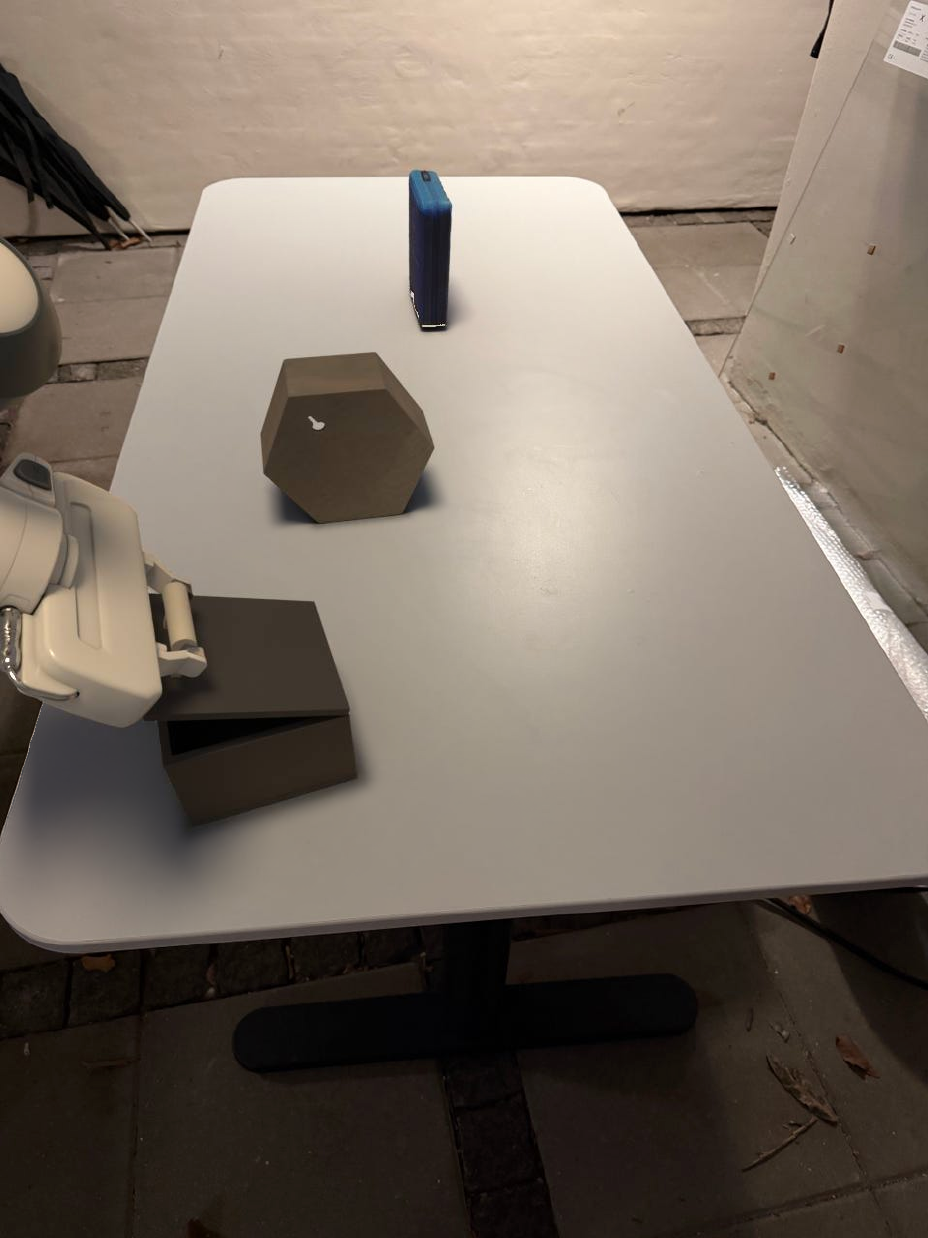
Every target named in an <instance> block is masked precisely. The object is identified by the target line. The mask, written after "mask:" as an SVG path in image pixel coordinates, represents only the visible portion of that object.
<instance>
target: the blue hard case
mask: <svg viewBox="0 0 928 1238" xmlns="http://www.w3.org/2000/svg"><path fill="white" fill-rule="evenodd" d="M452 213H453V204H452V201H451V200H450V198H449V197H448V195H447V192H446V191H445V189H444V186H443V184H442V181H441V180H440V177H439V176H438V173H437V172H436V171H433V170H425V169H424V170H420V169H413V170H411V171H410V172H409V175H408V283H409V285H408V287H410V288H409V291H410V290H411V291H412V292H413V293H414V305H415V309H416V311H417V312H418V315H419V320H418V317H417V314H416V311H415V309H414V308H413V310H414V312H415V315H416V317H417V322H418V323H419V322H420V323H419V325H420V324H421V325H440V324H441V325H442V324H446V325H445V326H436V327H422V328H423V329H434V328H445V327H446V326H447V322H448V321H447V320H448V308H449V307H448V306H449V292H450V291H449V290H450V287H449V285H450V268H451V267H450V266H451V243H452V241H451V240H452V224H453V223H452V222H453V220H452V219H453V217H452V216H453V215H452ZM414 305H413V306H414ZM421 325H420V326H421Z"/></svg>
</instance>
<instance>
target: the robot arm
mask: <svg viewBox="0 0 928 1238" xmlns="http://www.w3.org/2000/svg"><path fill="white" fill-rule="evenodd" d="M62 333H63V332H62V326H61V322H60V319H59V315H58V312H57V309H56V307H55V304H54V301H53V299H52V297H51V295H50V293H49V291H48V289H47V287H46V285H45V283H44V281H43V280H42V278H41V277H40V275H39V273H38V272H37V271H36V269H35V268H34V267H33V266H32V264H31V263H30V262H29V261H28V260H27V258H26V256H24V255H23V254H22V253H21V252H20V250H18V249H17V248H16V247H15V246H14V245H12V243H10V242H9V241H8V240H7V239H5V238H4V237H3V236H2V235H0V415H1V414H2V413H3V412H4V411H6V410H9V409H10V408H12V407H13V406H15V405H16V404H18V403H20V402H21V401H23V400H25V399H26V398H28V397H29V396H30V395H32V394H33V393H35V392H37V391H38V390H40V389H42V387H44V386H45V385H46V384H47V383H49V381H50V380H51V378H53V376H54V375H55V372H56V371H57V369H58V366H59V365H60V361H61V357H62V353H63V352H62V351H63V335H62ZM172 582H178V583H182V584H183V585H185V586H186V588H187V593H188V598H189V600H191V599H192V598H193V595H194V591H193V585H192V581H191V580H190V579H187V578H185V577H183V576H180V575H178V574H175V573H174V572H173V571H172V570H170V569H169V568H168V567H167V566H166V565H165V564H163V563H162V562H161V561H160V560H159V559H158V558H157V557H155V556H154V555H153V554H151V553H148V552H145V551H144V550H143V546H142V538H141V532H140V525H139V517H138V513H137V512H136V511H135V510H134V508H133V507H132V506H131V505H129V503H127V502H126V501H125V500H124V499H123V498H121V497H119V496H118V495H116V494H113V493H112V492H110V491H108V490H105V489H103V488H102V487H99V486H97V485H95V484H93V483H91V482H89V481H87V480H85V479H82V478H80V477H77V476H75V475H72V474H69V473H67V472H62V471H54V472H53V469H52V466H51V464H50V463H49V462H48V461H46V460H45V459H43V458H42V457H39V456H37V455H35V454H32V453H30V452H25V451H24V452H20V453H19V454H18V455H17V456H16V457H15V458H14V460H13V461H12V462H11V463H10V465H9V466H8V467H7V469H6V470H5V471H4V472H3V474H2V475H1V477H0V671H1V672H3V673H6V675H7V677H8V679H9V681H11V683H12V684H14V685H15V686H16V689H17V691H18V692H20V694H21V693H22V694H23V695H26V696H28V697H32V698H35V699H37V700H39V701H40V702H42V703H44V704H46V705H49V706H51V707H53V708H56V709H59V710H62V711H64V712H66V713H70V714H73V715H75V716H79V717H82V718H83V719H84V718H85V719H87V720H90V721H93V722H96V723H99V724H100V723H101V724H102V725H103V724H105V725H108V726H111V727H114V728H115V727H116V728H127V727H129V726H131V725H133V724H136V723H138V722H139V721H140V720H141V719H143V716H144V715H145V714H146V713H147V712H148V711H149V710H150V709H151V708H152V706H153V705H154V704H155V703H156V702H157V701H158V699H159V698H160V697H161V695H162V683H161V677H163V676H167V675H171V674H174V673H178V674H181V675H185V676H188V677H197V676H199V675H200V674H201V673H202V672H203V670H204V669H205V668H206V667H207V661H206V656H205V651H204V649H203V648H202V647H196V646H193V645H190V644H187V643H185V644H184V645H183V646H182V648H181V649H180V650H179V651H172V652H167V646H166V645H163V644H160V643H157V642H155V635H154V628H153V621H152V614H151V607H150V600H149V593H148V590H149V589H152V590H154V592H156V593H157V594H161V595H162V589H163V588H164V586H165V585H167V584H169V583H172ZM148 587H149V588H148ZM162 600H163V596H162Z"/></svg>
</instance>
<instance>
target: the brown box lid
mask: <svg viewBox="0 0 928 1238" xmlns="http://www.w3.org/2000/svg"><path fill="white" fill-rule="evenodd" d="M162 596H163V600H162ZM149 600H150V607H151V614H152V621H153V628H154V635H155V642H157V643H160V644H163V645H166V646H167V652H172V651H179V650H180V649H181V648H182V646H183V645H184V644H185V643H187V644H190V645H193V646H196V647H202V648H203V649H204V651H205V656H206V661H207V667H206V668H205V669H204V670H203V672H202V673H201V674H200V675H199V676H197V677H188V676H185V675H181V674H178V673H174V674H171V675H167V676H163V677H161V683H162V695H161V697H160V698H159V699H158V701H157V702H156V703H155V704H154V705H153V706H152V708H151V709H150V710H149V711H148V712H147V713H146V714H145V715H144V716H143V717H142V722H157V721H179V720H210V719H241V718H272V717H303V716H334V715H348V713H349V712H350V711H351V708H350V704H349V701H348V698H347V695H346V693H345V689H344V686H343V683H342V680H341V677H340V674H339V671H338V667H337V665H336V662H335V659H334V656H333V653H332V649H331V647H330V644H329V641H328V638H327V636H326V632H325V629H324V627H323V623H322V620H321V617H320V614H319V611H318V608H317V605H316V602H315V601H314V600H296V599H295V600H294V599H273V598H254V597H237V596H236V597H235V596H234V597H232V596H212V595H194V594H193V598H192V599H191V600H189V598H188V593H187V588H186V586H185V585H183V584H182V583H178V582H172V583H169V584H167V585H165V586H164V588H163V589H162V595H161V594H159V593H155V592H153V593H152V592H151V593H149ZM349 714H350V713H349Z"/></svg>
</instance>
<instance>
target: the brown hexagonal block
mask: <svg viewBox="0 0 928 1238" xmlns="http://www.w3.org/2000/svg"><path fill="white" fill-rule="evenodd" d="M269 401H270V402H269V405H268V408H267V411H266V413H265V418H264V421H263V424H262V427H261V430H260V434H259V435H260V448H261V462H262V474H263V475H264V476H265V477H267V478H268V480H270V482H272V483H273V484H274V485H275V486H277V488H279V490H281V491H282V492H283V493H284V494H285V495H286V496H288V497H289V498H290V499H291V500H292V501H293V502H294V503H295V504H297V505H298V506H299V507H300V508H301V509H302V510H303V511H304V512H305V513H307V514H308V515H309V516H310V517H311V518H312V519H313V520H314V521H316V523H318V524H326V523H327V524H328V523H335V522H345V521H353V520H362V519H363V520H364V519H370V518H371V519H372V518H379V517H387V516H388V517H389V516H397V515H401V514H403V513H404V511H405V509H406V507H407V505H408V503H409V501H410V499H411V497H412V495H413V493H414V491H415V490H416V487H417V484H418V483H419V481H420V479H421V477H422V475H423V472H424V471H425V469H426V466H427V464H428V463H429V461H430V459H431V457H432V455H433V452H434V451H435V444H434V442H433V441H434V440H433V437H432V435H431V432H430V429H429V425H428V422H427V419H426V416H425V414H424V413H425V412H424V410H423V408H422V407H421V406H420V404H418V402H417V401H416V400H415V398H413V396H412V395H411V394H410V393H409V391H408V390H407V389H406V388H405V386H404V385H403V383H401V381H400V380H399V378H397V376H396V375H395V374H394V373H393V371H392V370H391V369H390V368H389V366H388V365H387V364H386V363H385V361H384V360H383V359H382V357H381V356H380V355H379V354H378V353H377V352H376V351H372V352H371V351H370V352H355V353H345V354H344V353H343V354H332V355H331V354H330V355H329V354H328V355H319V356H317V355H316V356H303V357H290V358H284V359H283V360H282V363H281V367H280V370H279V373H278V377H277V379H276V382H275V386H274V389H273V392H272V395H271V398H270V400H269ZM310 417H311V418H312V419H311V418H310ZM313 420H314V421H315V422H316V423H323V424H324V425H323V427H322V428H319V429H316V428H314V422H313Z"/></svg>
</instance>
